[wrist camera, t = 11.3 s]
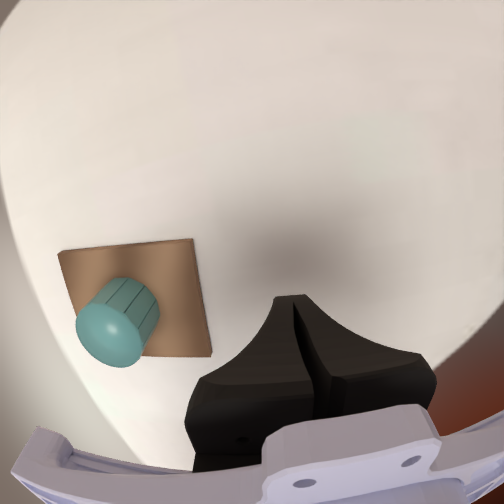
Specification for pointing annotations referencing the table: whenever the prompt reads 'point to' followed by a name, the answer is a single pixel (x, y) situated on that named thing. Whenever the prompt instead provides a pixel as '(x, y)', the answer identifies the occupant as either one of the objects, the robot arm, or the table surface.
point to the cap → (118, 322)
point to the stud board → (156, 280)
